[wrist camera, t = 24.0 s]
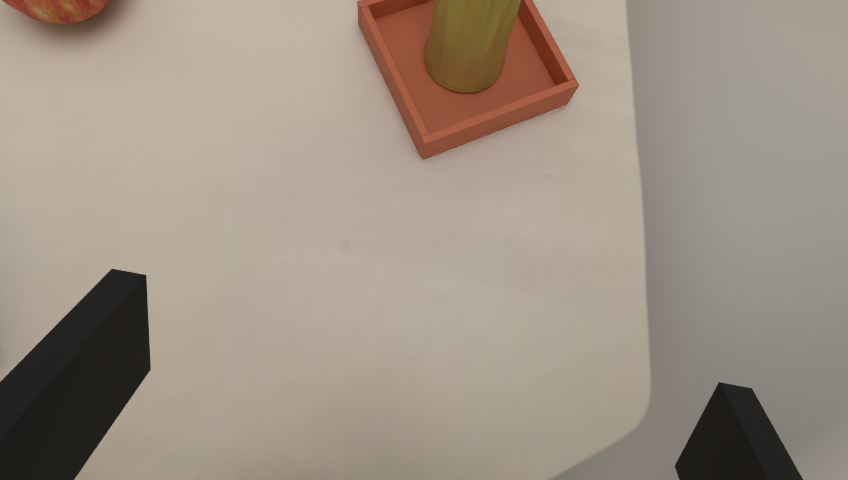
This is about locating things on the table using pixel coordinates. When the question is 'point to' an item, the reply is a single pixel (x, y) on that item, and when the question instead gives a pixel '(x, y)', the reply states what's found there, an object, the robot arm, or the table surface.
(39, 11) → the fruit
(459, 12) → the vase
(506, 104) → the terracotta tray
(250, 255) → the table surface
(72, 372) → the robot arm
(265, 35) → the table surface
